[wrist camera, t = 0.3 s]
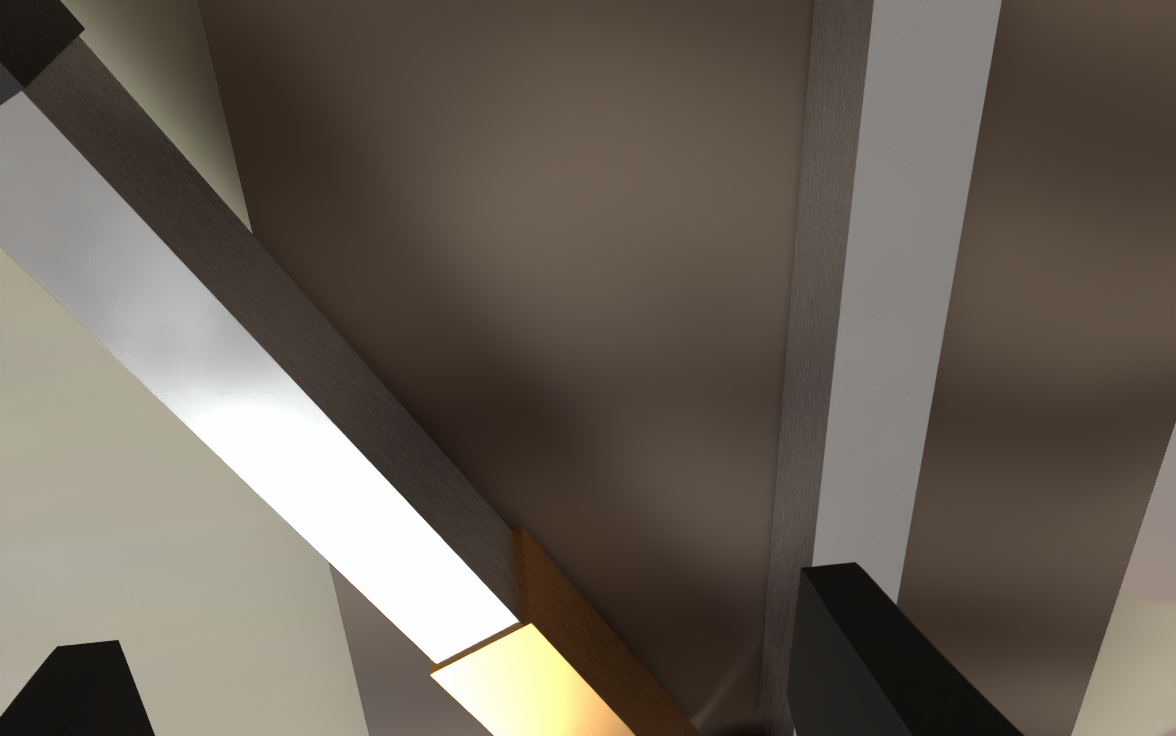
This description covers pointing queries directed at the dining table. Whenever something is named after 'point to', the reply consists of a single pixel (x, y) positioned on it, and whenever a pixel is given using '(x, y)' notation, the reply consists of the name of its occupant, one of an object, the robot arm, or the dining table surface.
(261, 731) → the dining table surface
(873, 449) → the grey long bar
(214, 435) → the tong arm
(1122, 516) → the walnut board
